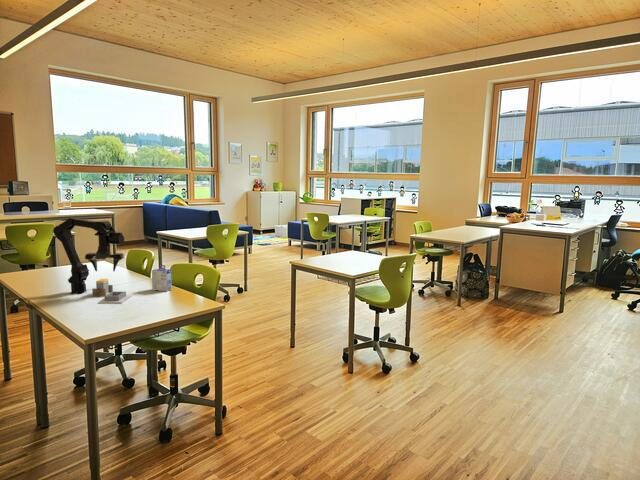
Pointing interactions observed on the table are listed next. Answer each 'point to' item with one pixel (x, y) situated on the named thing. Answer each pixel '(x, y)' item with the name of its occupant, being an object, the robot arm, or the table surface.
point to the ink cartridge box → (161, 279)
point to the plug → (103, 284)
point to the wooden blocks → (101, 291)
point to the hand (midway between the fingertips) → (105, 271)
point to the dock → (115, 298)
